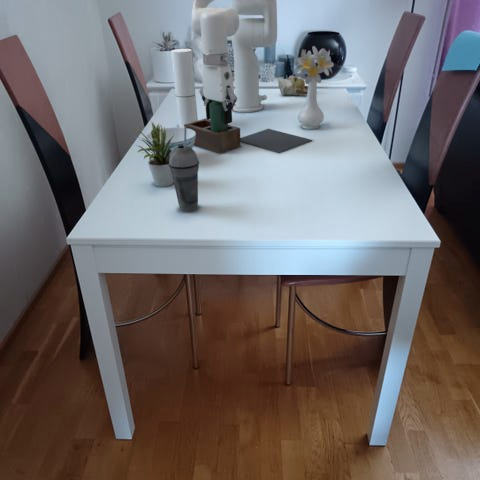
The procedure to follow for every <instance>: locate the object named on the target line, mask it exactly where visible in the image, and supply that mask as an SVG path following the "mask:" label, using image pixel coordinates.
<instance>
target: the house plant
mask: <svg viewBox="0 0 480 480" xmlns="http://www.w3.org/2000/svg"><path fill="white" fill-rule="evenodd" d="M151 128H152V129H151V131H150V132H151V135H152V139H153V141H152V142H153V144H151V142H150V141H149V140H148V139H147V137H146V136H147V135H145V134H144V133H143V132H142V131H140V130H138V129H132V128H131V129H130V131H131V130H133V131H136V132H137V133H139V134H141V135H142V136H143V137H141V141H142V142H143V143H144V144H146V146H147V147H145V148H144V147H143V146H141V145H137V144H136V145H135V146H136V147H139V148H140V149H138V151H136V154H137V153H140V152H142V151H144V153H145V154H144V156H143V160H145V159H146V158H148V159H149V160H148V162H147V164H148V167H149V170H150V172H151V176H152V180H153V183H154V185H155V186H156V187H160V188H164V187H169V186H172V185H173V184H174V180H173V175H172V173H171V169H170V166H169V158H170V155H171V154H170V152H171V151H172V150H171V149H170V147H172V146H173V145H174V144H176V143H173V144H172V145H171V146H170V147H169V148H168V146H169V144H170V142H171V140H172V138H173V137H174V136H175V135H174V134H173V135H174V136H172V137H171V138H170V140H169V141H168V142H167V144H166V147H165V139H166V130H165V128H166V127H165V126H163V125H162V124H161V123H158V124H157V125H155V123H154V122H153V121H151ZM160 129H161V145H160ZM163 129H164V132H163ZM176 135H177V134H176ZM133 139H140V136H139V137H138V136H135V137H134V136H133ZM147 140H148V141H149V142H148V141H147ZM148 143H149V144H150V145H151V146H152V147H153V148H151V147H150V146H149V144H148ZM179 144H180V143H179ZM167 148H168V150H167ZM164 149H165V150H164ZM154 151H155V152H156V154H155V152H154ZM166 151H167V152H166ZM165 153H166V155H165ZM169 154H170V155H169ZM168 155H169V156H168Z"/></svg>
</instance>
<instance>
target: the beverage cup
mask: <svg viewBox="0 0 480 480" xmlns="http://www.w3.org/2000/svg"><path fill="white" fill-rule="evenodd" d="M199 165H200V160H199V158H198V155H197V153H196V151H195V150H194V149H193V148H190V147H188V146H186V126H184V145H182V146H178V147H176V148H175V149H174V150H173V151H172V153H171V155H170V158H169V166H170V169H171V173H172V175H173V184H174V189H175V193H176V199H177V203H178V206H179V211H181V212H182V213H193V212H195V211H197V210H198V206H199V205H198V204H199V167H200V166H199Z"/></svg>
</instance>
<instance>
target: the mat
mask: <svg viewBox="0 0 480 480" xmlns="http://www.w3.org/2000/svg"><path fill="white" fill-rule="evenodd" d="M240 140H241V143H243V144H247V145H250V146H254V147H257V148H260V149H264V150H267V151H270V152H275V153H278V154H281V153H283V152H286V151H289V150H291V149H294V148H297V147H299V146H302V145H305V144H307V143H310V142H312V141H313V140H312V139H310V138H307V137H301V136H299V135H294V134H289V133H287V132H282V131H278V130H275V129H271V128H267V129H263V130H261V131H258V132H254V133H251V134H248V135H246V136H245V135H244V136H241V137H240Z"/></svg>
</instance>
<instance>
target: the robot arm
mask: <svg viewBox="0 0 480 480" xmlns="http://www.w3.org/2000/svg"><path fill="white" fill-rule="evenodd" d="M214 1H215V0H193V1H192V8H191V16H190V22H191V23H190V24H191V29H192V32H193V33H194V34H195V36H197V37H200V38H201V46H202V47H201V50H202V61H203V64H202V72H201V73H202V74H201V75H202V76H201V77H202V78H201V79H202V84H201V85H202V87H201V88H200V89H199V92H198V93H199V94H200V96H201V101H203V106H205V119H207V120H210V110H209V104H210V103H212V102H213V100H215V101H219V102H222V105H223V107H224V111H223V121H224V124H228V125H229V124H231V123H233V111H234V112H238V113H254V112H259V111H261V110H263V109H264V105H263V103H262V101H266V100H268V96H267V95H266V94H263V95H261V94H260V72H259V70H260V66H259V62H260V61H259V57H258V56H257V54H256V52H255V51H254V50H253V48H272V47H274V46H275V45H276V43H277V40H278V7H277V5H278V4H277V0H231V5H232V7H228V6H227V7H222V6H221V7H218V6H217V7H215V6H214V7H208V6H209V5H210V4H211V3H212V2H214ZM239 16H262V17H242V18H240V17H239ZM228 37H230V39H231V45H232V52H233V67H234V78H233V72H232V67H231V64H229V61H230V58H229V46H228ZM226 103H227V105H226Z"/></svg>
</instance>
